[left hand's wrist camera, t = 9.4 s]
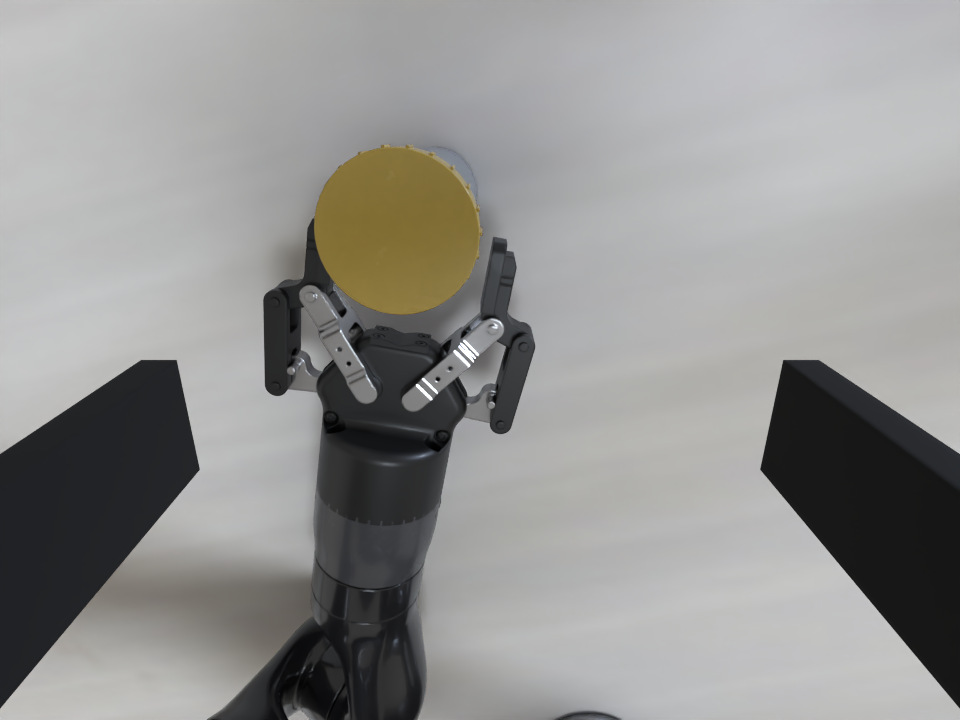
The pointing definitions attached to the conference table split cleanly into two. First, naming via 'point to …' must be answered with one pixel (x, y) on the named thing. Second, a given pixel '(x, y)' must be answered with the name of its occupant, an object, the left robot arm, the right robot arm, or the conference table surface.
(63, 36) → the conference table surface
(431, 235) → the lid
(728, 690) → the conference table surface
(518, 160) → the conference table surface
